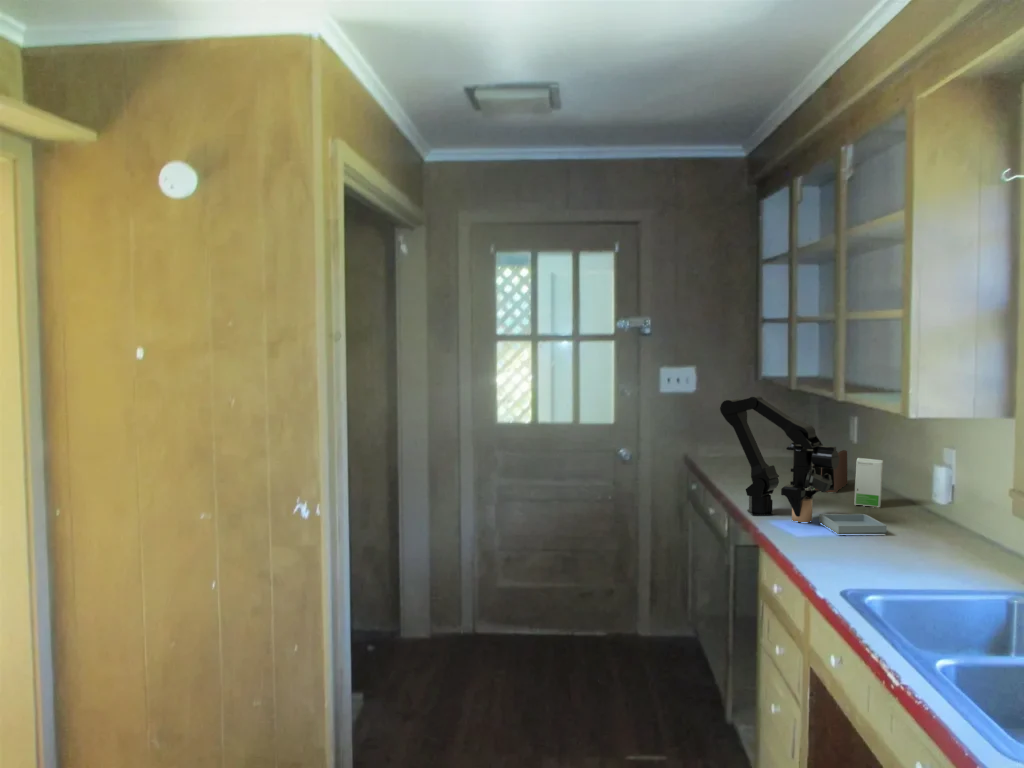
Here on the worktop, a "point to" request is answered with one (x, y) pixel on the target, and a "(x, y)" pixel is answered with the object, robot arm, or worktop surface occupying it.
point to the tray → (853, 524)
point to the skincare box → (868, 482)
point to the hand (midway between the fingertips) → (801, 514)
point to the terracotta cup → (804, 511)
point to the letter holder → (836, 472)
